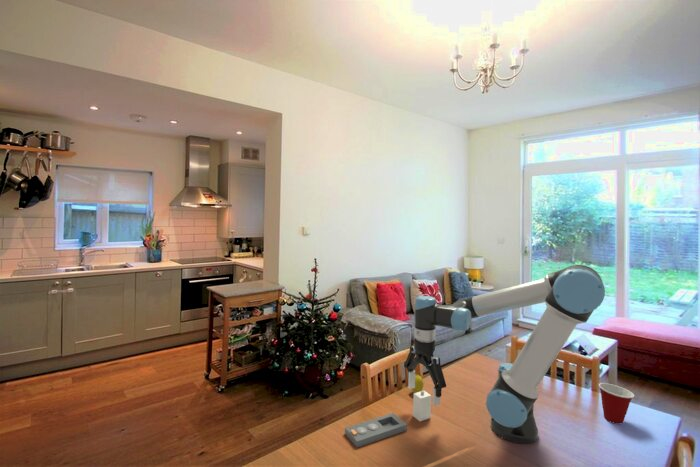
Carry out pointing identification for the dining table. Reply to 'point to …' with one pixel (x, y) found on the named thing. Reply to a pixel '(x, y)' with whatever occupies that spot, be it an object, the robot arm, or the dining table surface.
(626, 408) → the plastic cup
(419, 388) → the lemon
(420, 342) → the robot arm
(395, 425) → the power strip
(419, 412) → the block
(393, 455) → the dining table surface
